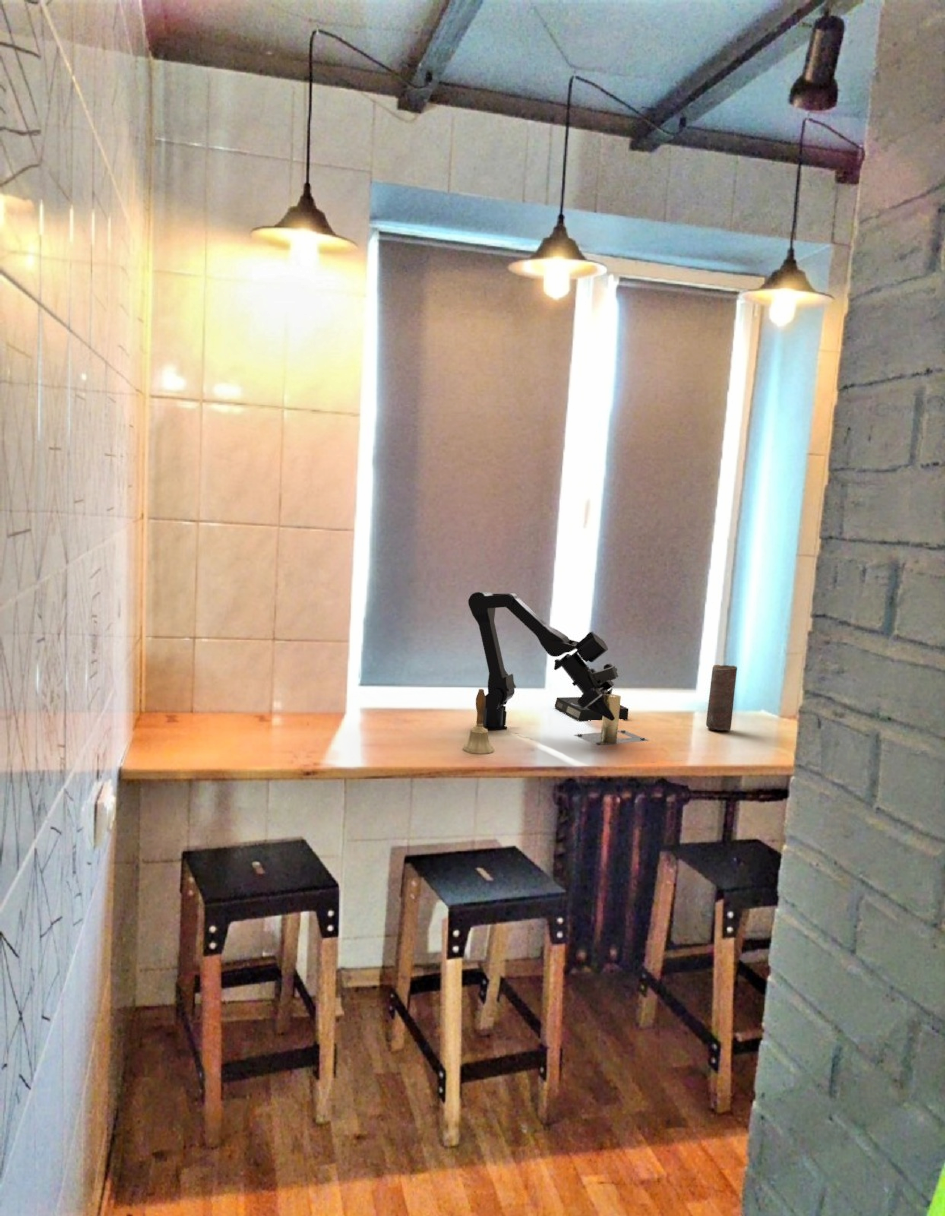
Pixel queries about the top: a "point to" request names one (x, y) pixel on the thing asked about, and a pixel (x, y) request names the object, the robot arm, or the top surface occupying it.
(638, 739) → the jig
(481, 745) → the hand bell
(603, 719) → the disc
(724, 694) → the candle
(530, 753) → the top surface
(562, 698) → the portable cd player
